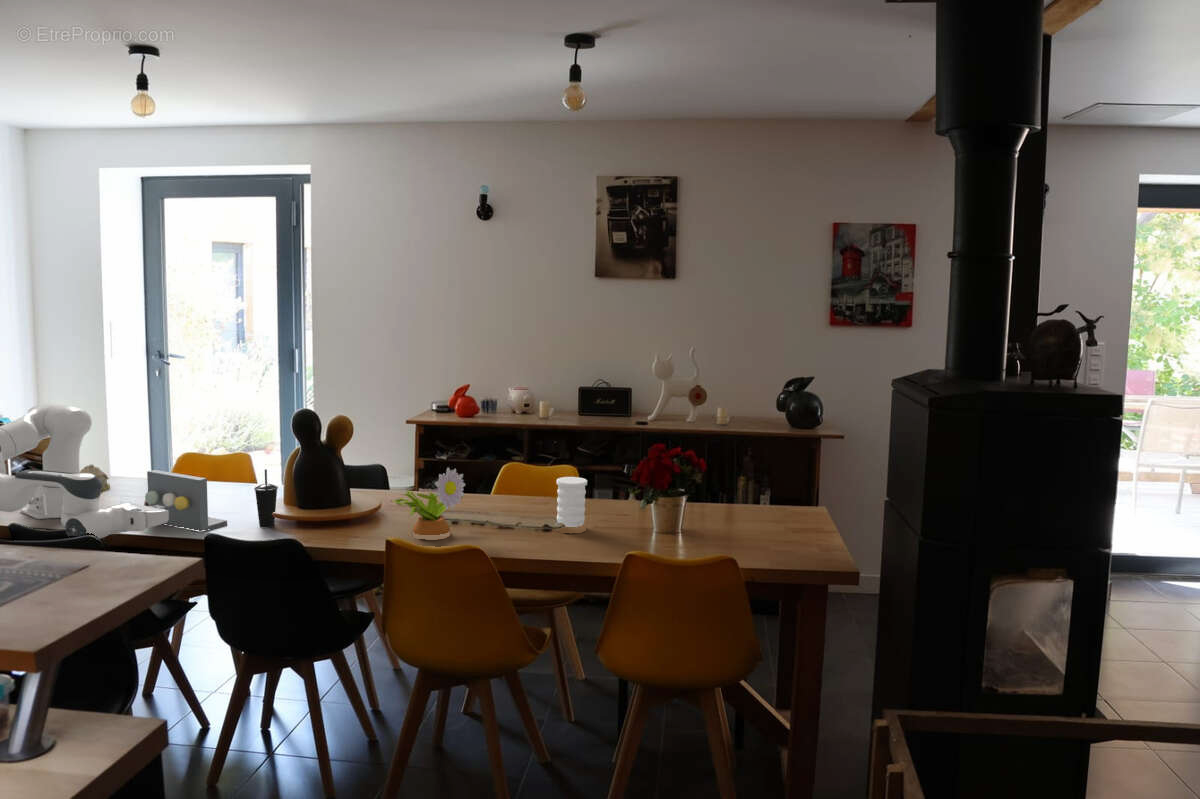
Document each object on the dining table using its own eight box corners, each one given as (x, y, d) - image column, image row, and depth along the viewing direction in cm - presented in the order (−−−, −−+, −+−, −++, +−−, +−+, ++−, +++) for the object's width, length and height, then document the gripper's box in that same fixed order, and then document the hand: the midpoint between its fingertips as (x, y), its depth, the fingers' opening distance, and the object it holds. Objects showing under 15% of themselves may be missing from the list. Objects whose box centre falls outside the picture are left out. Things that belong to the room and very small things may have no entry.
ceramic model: (117, 488, 350) (116, 464, 348) (90, 494, 340) (89, 469, 338) (94, 484, 356) (92, 460, 354) (67, 490, 346) (65, 465, 344)
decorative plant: (427, 549, 284) (427, 474, 280) (377, 535, 297) (377, 463, 294) (484, 531, 306) (485, 461, 302) (434, 519, 319) (435, 452, 316)
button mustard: (174, 509, 293) (174, 496, 293) (179, 507, 295) (179, 495, 295) (183, 511, 292) (183, 498, 291) (189, 509, 293) (188, 496, 293)
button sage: (145, 503, 299) (144, 491, 299) (150, 502, 301) (150, 490, 300) (154, 505, 297) (154, 492, 297) (159, 504, 299) (159, 491, 299)
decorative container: (558, 535, 305) (559, 484, 302) (551, 525, 316) (552, 477, 313) (590, 533, 308) (591, 483, 305) (582, 524, 319) (583, 476, 316)
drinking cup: (253, 529, 300) (252, 472, 297) (256, 523, 307) (255, 467, 305) (277, 528, 302) (276, 471, 299) (279, 522, 309) (278, 466, 307)
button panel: (149, 522, 305) (147, 471, 302) (176, 514, 315) (174, 465, 312) (201, 532, 295) (199, 480, 292) (227, 524, 305) (225, 474, 302)
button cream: (162, 505, 297) (162, 493, 297) (167, 504, 299) (167, 491, 298) (172, 507, 295) (171, 494, 295) (177, 506, 297) (176, 493, 297)
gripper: (101, 522, 279) (140, 513, 291) (144, 532, 270) (183, 522, 283) (100, 503, 278) (139, 494, 290) (144, 512, 269) (182, 502, 282)
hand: (161, 508), depth 286 cm, fingers closed
